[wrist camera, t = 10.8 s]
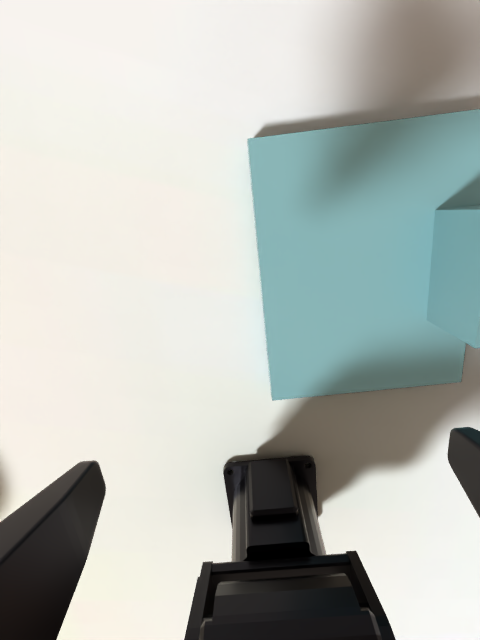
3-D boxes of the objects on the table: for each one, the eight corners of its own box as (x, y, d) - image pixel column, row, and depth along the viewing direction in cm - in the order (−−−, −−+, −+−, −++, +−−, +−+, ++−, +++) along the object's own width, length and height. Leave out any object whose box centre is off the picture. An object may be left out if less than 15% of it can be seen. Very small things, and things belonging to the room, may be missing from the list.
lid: (445, 369, 21) (514, 423, 16) (270, 387, 22) (279, 444, 16) (471, 116, 16) (581, 71, 11) (247, 145, 17) (250, 115, 12)
